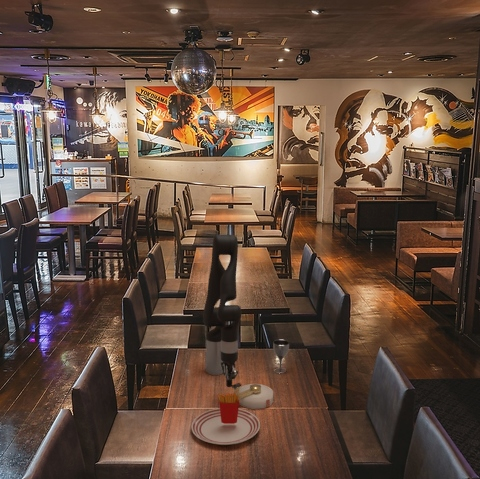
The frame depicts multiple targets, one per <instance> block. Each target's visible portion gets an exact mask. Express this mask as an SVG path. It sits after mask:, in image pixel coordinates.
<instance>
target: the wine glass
mask: <svg viewBox="0 0 480 479" xmlns="http://www.w3.org/2000/svg"><path fill="white" fill-rule="evenodd" d="M272 345H273V346H272V347H273V349H272V350H273V352H274V354H275V356H276V357H277V358H278V360H279V367H280V368H278V367H275V368H276V370H275V372H274V373H276V372H278V373H277V374H280V373H282V372H285V371H286V370H285V369H286V368H285V367H282V363H283V359H284V358H285V357H286V356H288V353H289V350H290V342H289V340H286V339H275V340H274V341H273V342H272ZM284 368H285V369H284ZM282 374H283V373H282Z"/></svg>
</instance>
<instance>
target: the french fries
mask: <svg viewBox="0 0 480 479" xmlns="http://www.w3.org/2000/svg"><path fill="white" fill-rule="evenodd" d="M217 396H218V400H219V402H218V404H219V408H220V414H221V422H222V423H224V424H234V423H237V417H238V409H240V408H239V407H240V404H239V395H238V396H237V395H236V393H234V392H233V393H230V392H229V393H225V395H224V393H222V394H220V393H219V394H218V395H217Z"/></svg>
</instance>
